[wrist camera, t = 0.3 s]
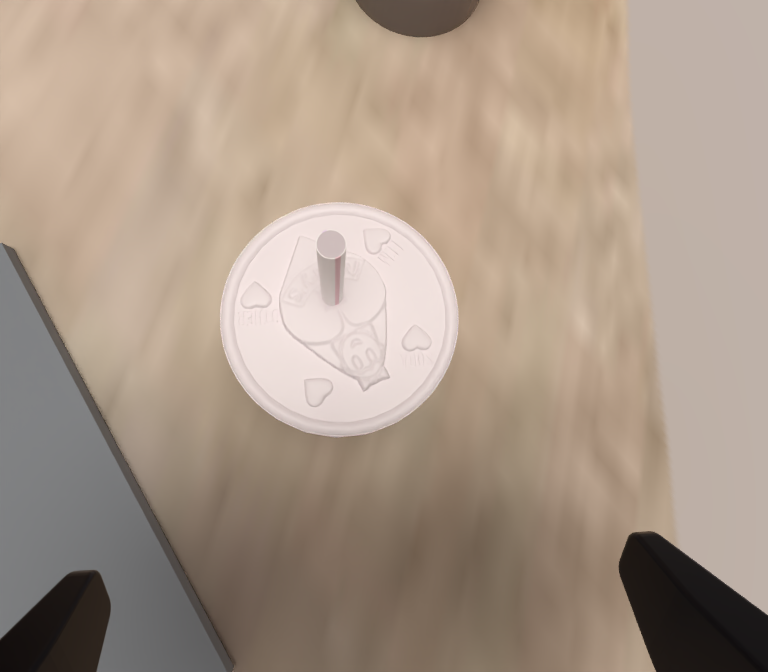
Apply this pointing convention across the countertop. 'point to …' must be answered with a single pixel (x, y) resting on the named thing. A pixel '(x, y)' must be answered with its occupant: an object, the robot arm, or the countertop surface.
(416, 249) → the smoothie
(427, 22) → the grey rounded canister
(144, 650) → the slate mat
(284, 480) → the countertop surface
